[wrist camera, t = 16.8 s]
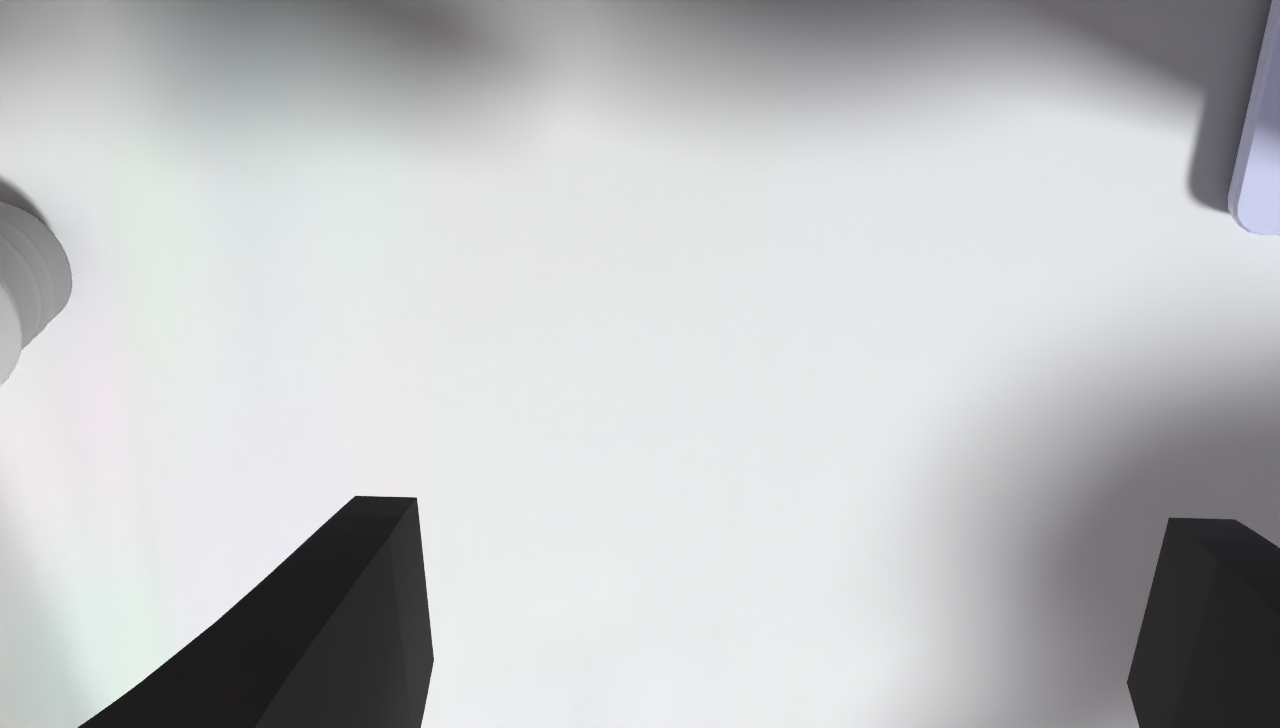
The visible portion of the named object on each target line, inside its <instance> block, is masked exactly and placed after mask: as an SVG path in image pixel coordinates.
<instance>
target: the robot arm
mask: <svg viewBox="0 0 1280 728" xmlns="http://www.w3.org/2000/svg"><path fill="white" fill-rule="evenodd" d="M1228 209H1229V211H1230V213H1231V215H1232V217H1233V219H1234V220H1235V221H1236V223H1237V224H1238V225H1239V226H1240V227H1242V228H1243V229H1244V230H1246V231H1247V232H1250V233H1255V234H1259V235H1280V0H1272V2H1271V7H1270V11H1269V16H1268V20H1267V24H1266V29H1265V33H1264V38H1263V42H1262V47H1261V51H1260V56H1259V60H1258V65H1257V69H1256V74H1255V78H1254V83H1253V87H1252V91H1251V96H1250V100H1249V105H1248V109H1247V114H1246V118H1245V123H1244V127H1243V132H1242V136H1241V141H1240V145H1239V149H1238V154H1237V158H1236V163H1235V167H1234V172H1233V176H1232V181H1231V185H1230V190H1229V194H1228ZM433 662H434V657H433V647H432V638H431V628H430V619H429V609H428V599H427V590H426V580H425V571H424V561H423V552H422V542H421V532H420V523H419V513H418V504H417V498H412V497H375V496H355V497H354V498H353V499H351V500H350V501H349V502H348V503H347V504H346V505H345V506H343V507H342V508H341V509H340V510H339V511H338V512H337V513H336V514H335V515H333V516H332V517H331V518H330V519H329V520H328V521H327V522H326V523H325V524H324V525H322V526H321V527H320V528H319V529H318V530H317V531H316V532H315V533H314V534H313V535H312V536H311V537H309V538H308V539H307V540H306V541H305V542H304V543H303V544H302V545H301V546H300V547H299V548H298V549H296V550H295V551H294V552H293V553H292V554H291V555H290V556H289V557H288V558H287V559H286V560H285V561H283V562H282V563H281V564H280V565H279V566H278V567H277V568H276V569H275V570H274V571H273V572H272V573H270V574H269V575H268V576H267V577H266V578H265V579H264V580H263V581H262V582H260V583H259V584H258V585H257V586H256V587H255V588H254V589H253V590H251V591H250V592H249V593H248V594H247V595H246V596H245V597H243V598H242V599H241V600H240V601H239V602H238V603H237V604H236V605H234V606H233V607H232V608H231V609H230V610H229V611H228V612H226V613H225V614H224V615H223V616H222V617H221V618H220V619H219V620H217V621H216V622H215V623H214V624H213V625H211V626H210V627H209V628H208V629H206V630H205V631H204V632H203V633H201V634H200V635H199V636H198V637H196V638H195V639H194V640H193V641H192V642H190V643H189V644H188V645H187V646H185V647H184V648H183V649H182V650H180V651H179V652H178V653H177V654H175V655H174V656H173V657H172V658H170V659H169V660H168V661H167V662H165V663H164V664H163V665H162V666H160V667H159V668H158V669H157V670H155V671H154V672H153V673H152V674H150V675H149V676H148V677H147V678H145V679H144V680H143V681H142V682H141V683H139V684H138V685H136V686H135V687H134V688H132V689H131V690H130V691H128V692H127V693H126V694H124V695H123V696H122V697H120V698H119V699H118V700H116V701H115V702H113V703H112V704H111V705H109V706H108V707H106V708H105V709H104V710H102V711H101V712H99V713H98V714H97V715H95V716H94V717H92V718H91V719H90V720H88V721H87V722H85V723H84V724H82V725H81V726H79V727H78V728H421V723H422V719H423V714H424V709H425V704H426V699H427V693H428V688H429V683H430V678H431V672H432V667H433ZM1127 684H1128V688H1129V691H1130V695H1131V698H1132V702H1133V705H1134V709H1135V713H1136V716H1137V720H1138V723H1139V727H1140V728H1280V548H1278V547H1277V546H1275V545H1274V544H1272V543H1271V542H1270V541H1268V540H1267V539H1265V538H1264V537H1262V536H1260V535H1259V534H1257V533H1256V532H1254V531H1253V530H1251V529H1250V528H1248V527H1246V526H1245V525H1243V524H1241V523H1240V522H1238V521H1236V520H1233V519H1196V518H1169V520H1168V524H1167V528H1166V532H1165V536H1164V540H1163V544H1162V547H1161V551H1160V555H1159V559H1158V563H1157V567H1156V571H1155V575H1154V579H1153V583H1152V587H1151V591H1150V595H1149V599H1148V602H1147V606H1146V610H1145V614H1144V618H1143V622H1142V626H1141V630H1140V634H1139V638H1138V642H1137V646H1136V650H1135V654H1134V657H1133V661H1132V665H1131V669H1130V673H1129V677H1128V681H1127Z"/></svg>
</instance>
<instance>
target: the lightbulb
mask: <svg viewBox="0 0 1280 728" xmlns="http://www.w3.org/2000/svg"><path fill="white" fill-rule="evenodd" d="M71 289H72V276H71V269H70V264H69V261H68V258H67V256H66V253H65V251H64V249H63V247H62V246H61V244H60V242H59V241H58V239H57V238H56V237H55V235H54V234H53V233H52V232H51V231H50V230H49V229H48V228H47V227H46V226H45V225H44V224H43V223H42V222H41V221H39V220H38V219H37V218H35V217H34V216H33V215H31V214H29V213H28V212H26V211H24V210H22V209H20V208H18V207H15V206H12V205H10V204H7V203H4V202H0V386H1V385H2V384H3V383H4V382H5V381H6V380H7V379H8V377H9V376H10V374H11V373H12V371H13V370H14V368H15V366H16V364H17V362H18V359H19V356H20V353H21V350H22V349H23V348H24V347H25V346H27V345H28V344H29V343H30V342H31V341H32V339H33V338H35V337H36V336H37V335H38V334H39V333H40V332H42V331H43V330H44V328H45V327H46V325H47V324H48V323H49V322H50V321H51V320H52V319H53V318H54V317H55V316H56V315H58V314H59V313H60V312H61V311H62V310H63V308H64V307H65V305H66V304H67V302H68V300H69V297H70V294H71Z"/></svg>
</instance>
